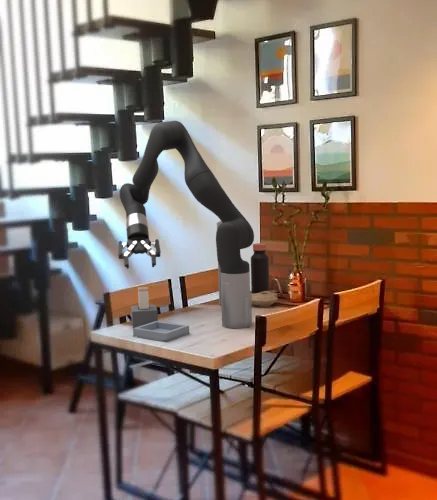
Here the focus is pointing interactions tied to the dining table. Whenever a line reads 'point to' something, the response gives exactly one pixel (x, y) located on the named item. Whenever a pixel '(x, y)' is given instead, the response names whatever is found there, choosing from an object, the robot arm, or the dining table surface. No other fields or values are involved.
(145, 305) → the block
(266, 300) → the pottery oil lamp
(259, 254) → the bottle
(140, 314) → the panel
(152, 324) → the tray
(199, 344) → the dining table surface
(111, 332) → the dining table surface
